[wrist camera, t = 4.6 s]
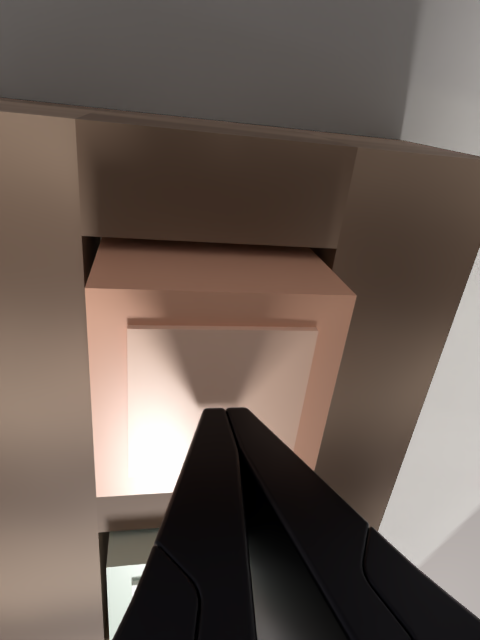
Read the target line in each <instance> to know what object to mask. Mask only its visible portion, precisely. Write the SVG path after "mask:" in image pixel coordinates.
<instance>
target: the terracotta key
mask: <svg viewBox="0 0 480 640" xmlns="http://www.w3.org/2000/svg"><path fill="white" fill-rule="evenodd" d="M356 297H357V295H356V294H355V293H354V292H353V291H352V290H351V289H350V288H349V287H348V286H347V285H346V284H345V283H344V282H343V281H342V280H341V279H340V278H339V277H338V276H337V275H336V274H335V273H334V272H333V271H332V270H331V269H330V268H329V267H328V266H327V265H326V264H325V263H324V262H323V261H322V260H321V259H320V258H319V257H318V256H317V255H316V254H315V253H314V252H313V251H312V250H311V249H310V248H309V247H293V246H273V245H253V244H233V243H213V242H193V241H173V240H153V239H133V238H113V237H102V239H101V242H100V245H99V247H98V250H97V253H96V256H95V259H94V262H93V265H92V268H91V271H90V274H89V277H88V280H87V283H86V286H85V302H86V320H87V338H88V356H89V374H90V392H91V410H92V428H93V446H94V464H95V482H96V497H109V496H125V495H140V494H156V493H172V492H173V490H174V488H175V485H176V482H177V479H178V477H179V474H180V471H181V469H182V466H183V463H184V460H185V458H186V455H187V452H188V450H189V447H190V444H191V441H192V439H193V436H194V433H195V431H196V428H197V425H198V422H199V420H200V417H201V414H202V412H203V410H204V409H205V408H223V409H225V410H226V409H227V408H230V407H246V408H248V409H249V410H250V411H251V412H252V413H253V414H254V415H255V416H256V417H257V418H258V419H259V420H260V421H262V422H263V423H264V424H265V425H266V426H267V427H268V428H269V429H270V430H271V431H272V432H273V433H274V434H275V435H276V436H277V437H278V438H279V439H280V440H282V441H283V442H284V443H285V444H286V445H287V446H288V447H289V448H290V449H291V450H292V451H293V452H294V453H295V454H296V455H297V456H298V457H299V458H301V459H302V460H303V461H304V462H305V463H306V464H307V465H308V466H309V467H310V468H311V469H312V470H313V471H314V470H315V466H316V462H317V458H318V454H319V449H320V445H321V441H322V437H323V433H324V429H325V425H326V421H327V416H328V412H329V408H330V404H331V400H332V396H333V392H334V388H335V384H336V379H337V375H338V371H339V367H340V363H341V359H342V355H343V351H344V346H345V342H346V338H347V334H348V330H349V326H350V322H351V318H352V313H353V309H354V305H355V301H356Z"/></svg>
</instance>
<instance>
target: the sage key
mask: <svg viewBox="0 0 480 640" xmlns="http://www.w3.org/2000/svg"><path fill="white" fill-rule="evenodd" d="M158 531H159V528H150V529H137V530H124V531H112V532H110V533H109V543H108V554H107V564H106V575H107V596H108V618H109V640H112V639H113V637H114V635H115V633H116V631H117V629H118V627H119V624H120V622H121V620H122V618H123V616H124V614H125V612H126V610H127V608H128V606H129V604H130V602H131V600H132V597H133V595H134V592H135V590H136V587H137V585H138V582H139V580H140V578H141V575H142V573H143V570H144V568H145V565H146V563H147V560H148V557H149V554H150V552H151V549H152V547H153V546H154V542H155V539H156V536H157V534H158Z"/></svg>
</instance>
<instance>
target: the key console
mask: <svg viewBox="0 0 480 640" xmlns="http://www.w3.org/2000/svg"><path fill="white" fill-rule="evenodd" d="M102 237H113V238H133V239H153V240H173V241H193V242H213V243H233V244H253V245H273V246H293V247H309V248H310V249H311V250H312V251H313V252H314V253H315V254H316V255H317V256H318V257H319V258H320V259H321V260H322V261H323V262H324V263H325V264H326V265H327V266H328V267H329V268H330V269H331V270H332V271H333V272H334V273H335V274H336V275H337V276H338V277H339V278H340V279H341V280H342V281H343V282H344V283H345V284H346V285H347V286H348V287H349V288H350V289H351V290H352V291H353V292H354V293H355V294H356V295H357V297H356V301H355V305H354V309H353V313H352V318H351V322H350V326H349V330H348V334H347V338H346V342H345V346H344V351H343V355H342V359H341V363H340V367H339V371H338V375H337V379H336V384H335V388H334V392H333V396H332V400H331V404H330V408H329V412H328V416H327V421H326V425H325V429H324V433H323V437H322V441H321V445H320V449H319V454H318V458H317V462H316V466H315V470H314V472H315V473H316V474H317V475H318V476H319V477H321V478H322V479H323V480H324V481H325V482H326V483H327V484H328V485H329V486H330V487H331V488H332V489H333V490H334V491H335V492H336V493H337V494H338V495H339V496H341V497H342V498H343V499H344V500H345V501H346V502H347V503H348V504H349V505H350V506H351V507H352V508H353V509H354V510H355V511H356V512H357V513H358V514H359V515H361V516H362V517H363V518H364V519H365V520H366V521H367V522H368V523H369V527H373V528H374V529H376V530H377V531H378V529H379V526H380V523H381V521H382V518H383V515H384V512H385V509H386V507H387V504H388V501H389V498H390V496H391V493H392V490H393V487H394V484H395V482H396V479H397V476H398V473H399V470H400V468H401V465H402V462H403V459H404V456H405V454H406V451H407V448H408V445H409V442H410V440H411V437H412V434H413V431H414V429H415V426H416V423H417V420H418V417H419V415H420V412H421V409H422V406H423V403H424V401H425V398H426V395H427V392H428V389H429V387H430V384H431V381H432V378H433V376H434V373H435V370H436V367H437V364H438V362H439V359H440V356H441V353H442V350H443V348H444V345H445V342H446V339H447V336H448V334H449V331H450V328H451V325H452V322H453V320H454V317H455V314H456V311H457V309H458V306H459V303H460V300H461V297H462V295H463V292H464V289H465V286H466V283H467V281H468V278H469V275H470V272H471V269H472V267H473V264H474V261H475V258H476V256H477V253H478V250H479V247H480V156H475V155H470V154H465V153H460V152H456V151H451V150H446V149H441V148H436V147H431V146H426V145H422V144H417V143H412V142H407V141H402V140H394V139H384V138H375V137H366V136H356V135H347V134H338V133H328V132H319V131H309V130H300V129H291V128H281V127H272V126H262V125H253V124H244V123H234V122H225V121H216V120H206V119H197V118H187V117H178V116H169V115H159V114H150V113H140V112H131V111H122V110H112V109H103V108H94V107H84V106H75V105H65V104H56V103H47V102H37V101H28V100H18V99H9V98H0V640H109V618H108V596H107V575H106V564H107V554H108V543H109V533H110V532H112V531H124V530H137V529H150V528H160V526H161V523H162V520H163V517H164V515H165V512H166V509H167V507H168V504H169V501H170V498H171V496H172V493H173V492H172V493H156V494H140V495H125V496H109V497H96V482H95V464H94V446H93V428H92V410H91V392H90V374H89V356H88V338H87V320H86V302H85V286H86V283H87V280H88V277H89V274H90V271H91V268H92V265H93V262H94V259H95V256H96V253H97V250H98V247H99V245H100V242H101V239H102Z"/></svg>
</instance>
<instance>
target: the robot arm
mask: <svg viewBox="0 0 480 640" xmlns="http://www.w3.org/2000/svg"><path fill="white" fill-rule="evenodd" d="M112 640H480V619H479V618H478V617H476V616H475V615H474V614H473V613H472V612H470V611H469V610H468V609H467V608H465V607H464V606H463V605H461V604H460V603H459V602H458V601H457V600H455V599H454V598H453V597H451V596H450V595H449V594H448V593H447V592H446V591H444V590H443V589H442V588H441V587H440V586H438V585H437V584H436V583H434V582H433V581H432V580H431V579H430V578H429V577H428V576H426V575H425V574H424V573H423V572H422V571H420V570H419V569H418V568H417V567H416V566H415V565H413V564H412V563H411V562H410V561H409V560H408V559H407V558H406V557H405V556H404V555H402V554H401V553H400V552H399V551H398V550H397V549H396V548H395V547H394V546H393V545H391V544H390V543H389V542H388V541H387V540H386V539H385V538H384V537H383V536H382V535H381V534H380V533H379V532H378V531H377V530H376V529H374V528H373V527H369V523H368V522H367V521H366V520H365V519H364V518H363V517H362V516H361V515H359V514H358V513H357V512H356V511H355V510H354V509H353V508H352V507H351V506H350V505H349V504H348V503H347V502H346V501H345V500H344V499H343V498H342V497H341V496H339V495H338V494H337V493H336V492H335V491H334V490H333V489H332V488H331V487H330V486H329V485H328V484H327V483H326V482H325V481H324V480H323V479H322V478H321V477H319V476H318V475H317V474H316V473H315V472H314V471H313V470H312V469H311V468H310V467H309V466H308V465H307V464H306V463H305V462H304V461H303V460H302V459H301V458H299V457H298V456H297V455H296V454H295V453H294V452H293V451H292V450H291V449H290V448H289V447H288V446H287V445H286V444H285V443H284V442H283V441H282V440H280V439H279V438H278V437H277V436H276V435H275V434H274V433H273V432H272V431H271V430H270V429H269V428H268V427H267V426H266V425H265V424H264V423H263V422H262V421H260V420H259V419H258V418H257V417H256V416H255V415H254V414H253V413H252V412H251V411H250V410H249V409H248V408H246V407H230V408H227V409H226V410H225V409H223V408H205V409H204V410H203V412H202V414H201V417H200V420H199V422H198V425H197V428H196V431H195V433H194V436H193V439H192V441H191V444H190V447H189V450H188V452H187V455H186V458H185V460H184V463H183V466H182V469H181V471H180V474H179V477H178V479H177V482H176V485H175V488H174V490H173V493H172V496H171V498H170V501H169V504H168V507H167V509H166V512H165V515H164V517H163V520H162V523H161V526H160V528H159V531H158V534H157V536H156V539H155V542H154V546H153V547H152V549H151V552H150V554H149V557H148V560H147V563H146V565H145V568H144V570H143V573H142V575H141V578H140V580H139V582H138V585H137V587H136V590H135V592H134V595H133V597H132V600H131V602H130V604H129V606H128V608H127V610H126V612H125V614H124V616H123V618H122V620H121V622H120V624H119V627H118V629H117V631H116V633H115V635H114V637H113V639H112Z"/></svg>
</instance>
